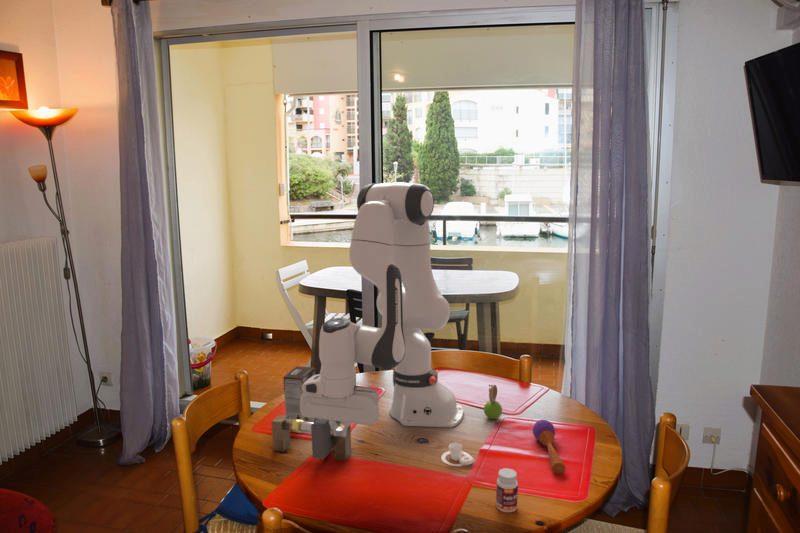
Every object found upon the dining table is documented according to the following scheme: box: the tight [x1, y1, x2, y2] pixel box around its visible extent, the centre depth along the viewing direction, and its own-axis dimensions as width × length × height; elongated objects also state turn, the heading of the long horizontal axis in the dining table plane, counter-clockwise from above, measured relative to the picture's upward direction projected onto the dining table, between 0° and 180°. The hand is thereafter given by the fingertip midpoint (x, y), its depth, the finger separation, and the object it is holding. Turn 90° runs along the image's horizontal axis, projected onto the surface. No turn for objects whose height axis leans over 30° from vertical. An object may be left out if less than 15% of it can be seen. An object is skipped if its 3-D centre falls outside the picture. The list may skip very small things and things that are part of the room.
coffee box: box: [283, 365, 317, 422], centre depth 173 cm, size 9×6×16 cm
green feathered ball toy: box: [483, 384, 503, 420], centre depth 174 cm, size 5×6×12 cm
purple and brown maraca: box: [532, 419, 566, 475], centre depth 155 cm, size 6×6×20 cm
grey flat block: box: [311, 418, 342, 460], centre depth 155 cm, size 3×14×9 cm, turn 164°
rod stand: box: [271, 414, 352, 462], centre depth 157 cm, size 21×4×9 cm, turn 74°
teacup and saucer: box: [440, 442, 475, 467], centre depth 153 cm, size 9×8×4 cm
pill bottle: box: [495, 467, 519, 513], centre depth 131 cm, size 5×5×8 cm
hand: (340, 435), depth 148 cm, fingers closed
